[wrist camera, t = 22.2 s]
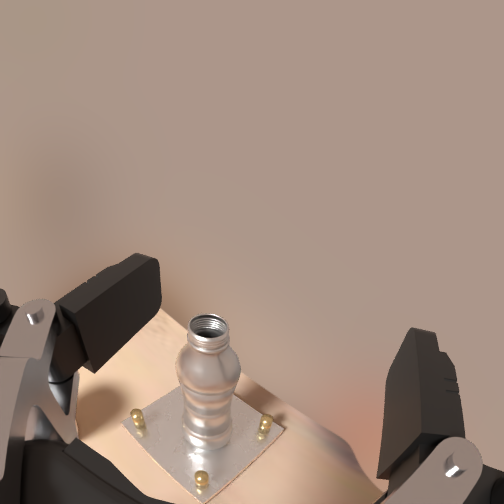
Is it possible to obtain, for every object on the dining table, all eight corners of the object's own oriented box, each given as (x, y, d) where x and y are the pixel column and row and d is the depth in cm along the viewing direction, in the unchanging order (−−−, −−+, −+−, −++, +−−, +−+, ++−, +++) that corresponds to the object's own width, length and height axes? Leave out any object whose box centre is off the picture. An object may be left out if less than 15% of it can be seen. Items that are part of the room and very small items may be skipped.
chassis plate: (282, 432, 38) (288, 417, 36) (202, 505, 26) (202, 496, 24) (202, 375, 46) (202, 358, 45) (122, 426, 35) (116, 410, 33)
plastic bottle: (200, 409, 39) (200, 295, 30) (241, 432, 36) (259, 322, 28) (172, 437, 34) (155, 327, 25) (214, 464, 31) (218, 363, 22)
